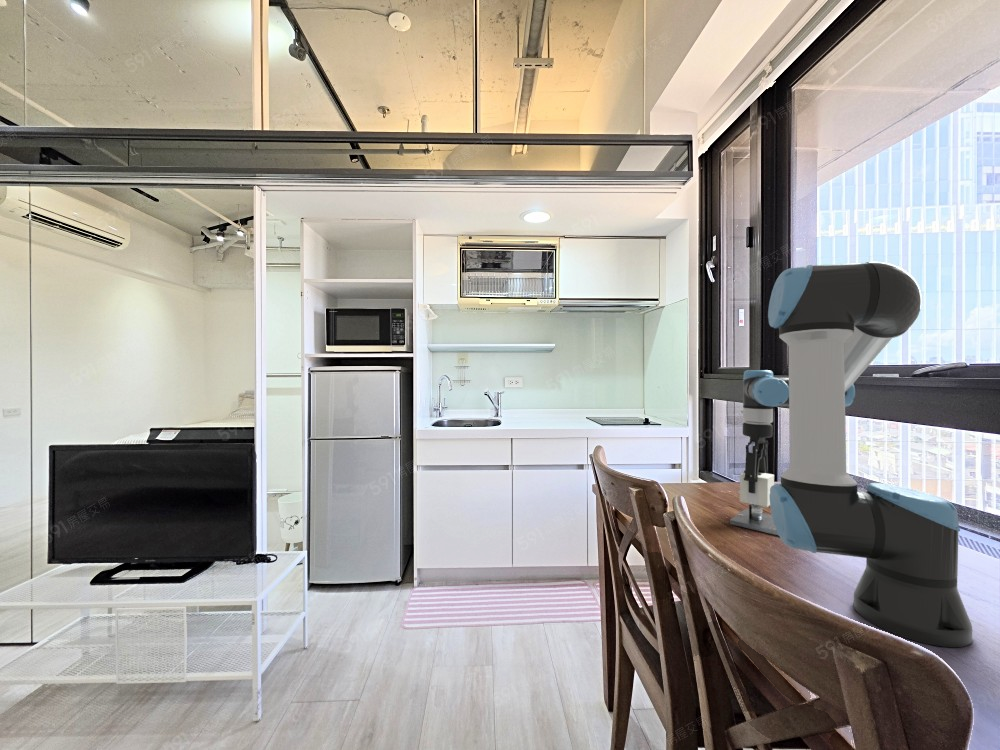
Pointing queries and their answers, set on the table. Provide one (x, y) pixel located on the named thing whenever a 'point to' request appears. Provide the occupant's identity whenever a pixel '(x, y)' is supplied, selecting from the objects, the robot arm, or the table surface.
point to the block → (764, 488)
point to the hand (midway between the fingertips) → (756, 500)
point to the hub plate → (755, 520)
